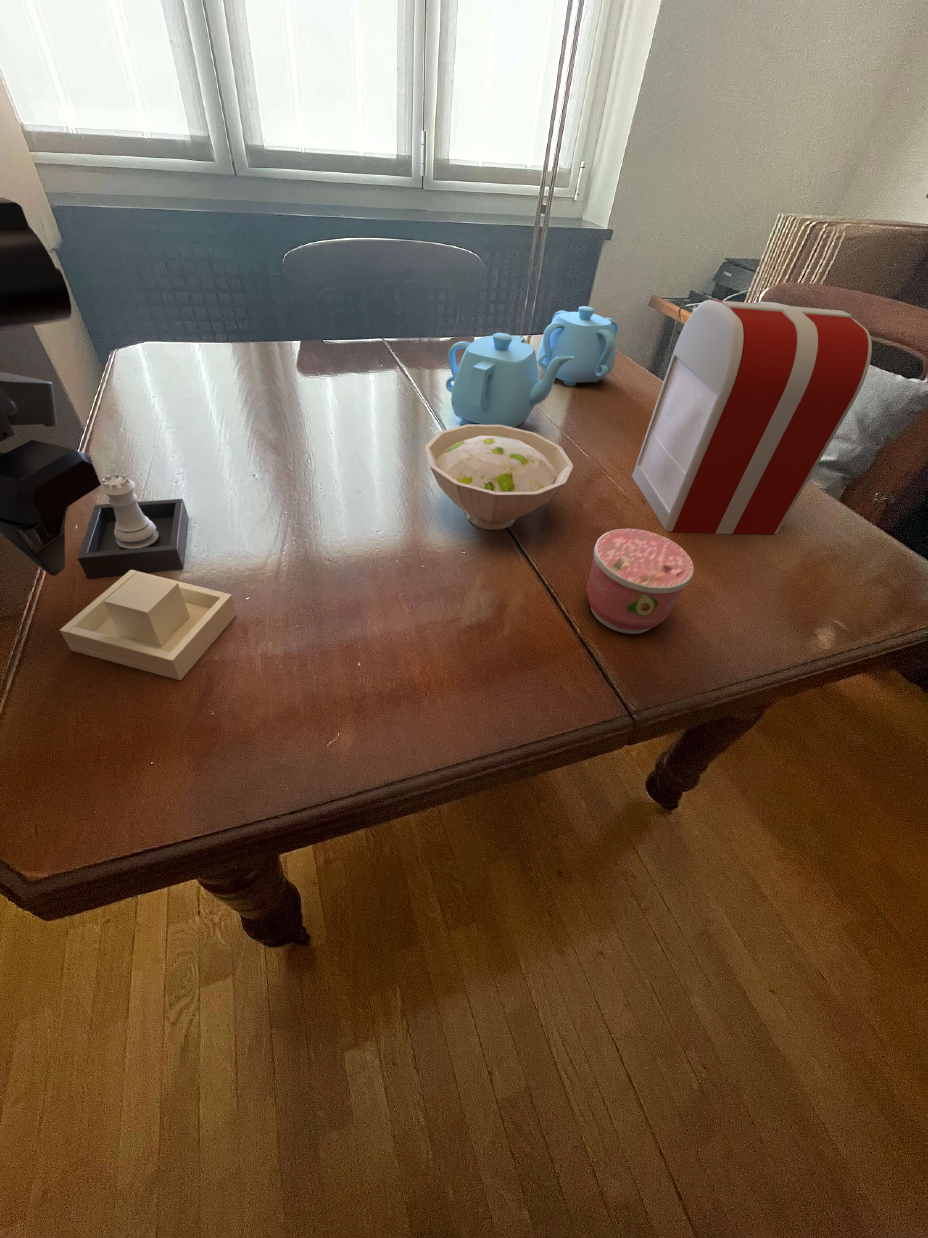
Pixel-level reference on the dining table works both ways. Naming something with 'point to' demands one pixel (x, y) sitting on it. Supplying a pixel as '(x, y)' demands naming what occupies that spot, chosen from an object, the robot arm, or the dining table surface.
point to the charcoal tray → (165, 554)
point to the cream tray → (173, 659)
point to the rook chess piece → (128, 514)
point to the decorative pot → (579, 345)
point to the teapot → (498, 380)
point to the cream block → (147, 609)
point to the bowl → (497, 471)
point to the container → (636, 579)
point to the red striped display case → (748, 413)
